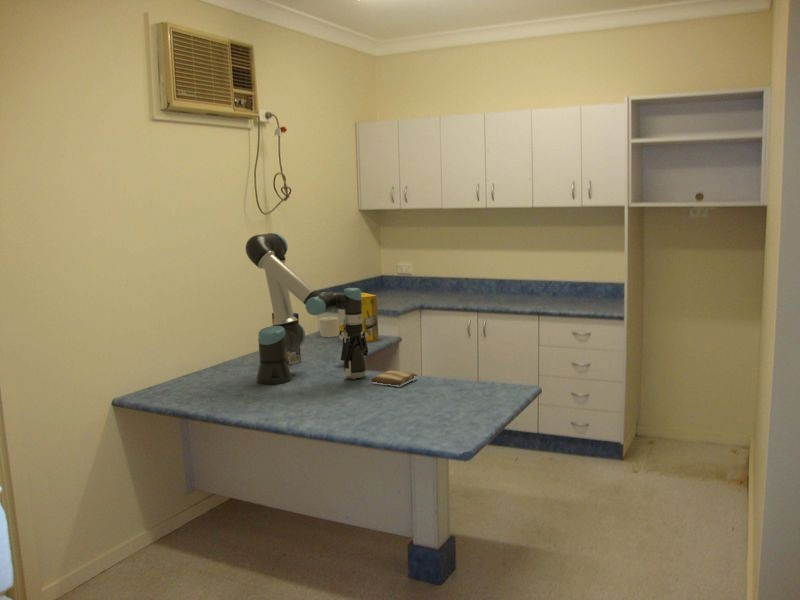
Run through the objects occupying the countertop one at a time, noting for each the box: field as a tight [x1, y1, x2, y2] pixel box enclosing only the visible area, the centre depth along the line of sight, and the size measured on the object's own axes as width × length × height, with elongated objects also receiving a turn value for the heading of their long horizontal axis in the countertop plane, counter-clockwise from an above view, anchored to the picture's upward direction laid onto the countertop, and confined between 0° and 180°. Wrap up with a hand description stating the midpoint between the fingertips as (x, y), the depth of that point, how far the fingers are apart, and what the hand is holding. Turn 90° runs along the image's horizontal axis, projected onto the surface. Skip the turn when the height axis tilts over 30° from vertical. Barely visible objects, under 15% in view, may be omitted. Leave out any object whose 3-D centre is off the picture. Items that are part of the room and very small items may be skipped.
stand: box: [371, 369, 418, 386], centre depth 315 cm, size 14×14×3 cm
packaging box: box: [337, 292, 379, 343], centre depth 405 cm, size 16×16×25 cm
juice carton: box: [271, 312, 302, 365], centre depth 358 cm, size 12×8×24 cm, turn 43°
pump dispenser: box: [343, 344, 368, 380], centre depth 322 cm, size 10×10×15 cm
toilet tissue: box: [319, 316, 339, 338], centre depth 420 cm, size 11×12×10 cm
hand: (355, 372), depth 323 cm, fingers closed on pump dispenser, 10 cm apart
